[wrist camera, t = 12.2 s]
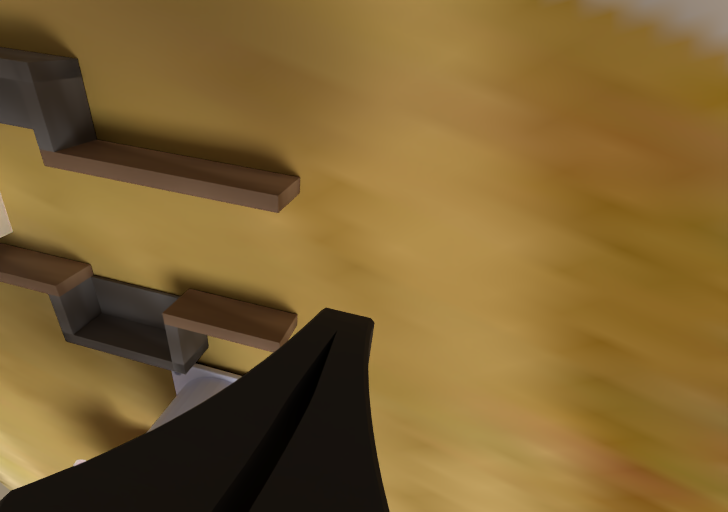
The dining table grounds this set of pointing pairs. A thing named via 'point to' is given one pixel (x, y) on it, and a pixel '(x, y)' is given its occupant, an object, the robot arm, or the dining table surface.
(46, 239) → the dining table surface
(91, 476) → the robot arm
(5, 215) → the cream block
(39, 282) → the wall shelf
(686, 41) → the dining table surface
